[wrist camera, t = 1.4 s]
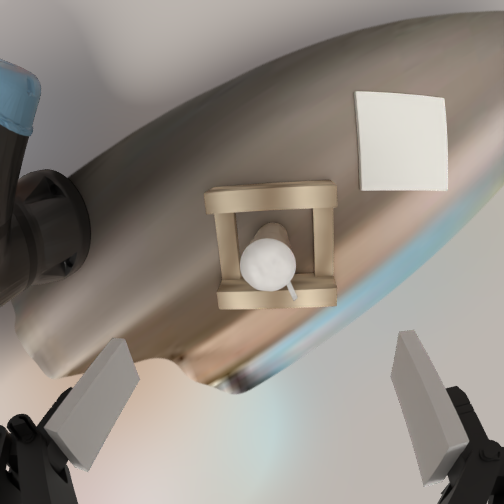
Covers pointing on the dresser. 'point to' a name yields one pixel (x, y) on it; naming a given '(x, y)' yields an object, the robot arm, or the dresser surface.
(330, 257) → the pocket holder
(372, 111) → the pad
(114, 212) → the dresser surface
